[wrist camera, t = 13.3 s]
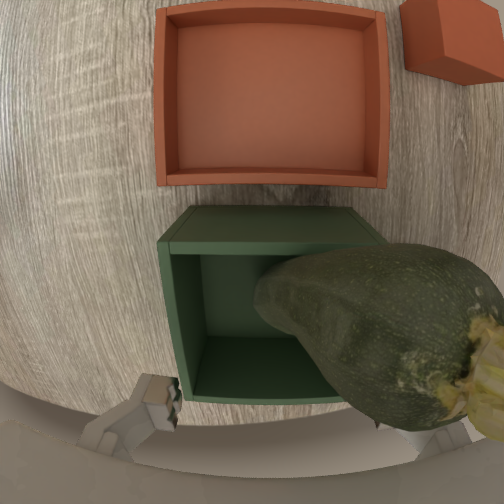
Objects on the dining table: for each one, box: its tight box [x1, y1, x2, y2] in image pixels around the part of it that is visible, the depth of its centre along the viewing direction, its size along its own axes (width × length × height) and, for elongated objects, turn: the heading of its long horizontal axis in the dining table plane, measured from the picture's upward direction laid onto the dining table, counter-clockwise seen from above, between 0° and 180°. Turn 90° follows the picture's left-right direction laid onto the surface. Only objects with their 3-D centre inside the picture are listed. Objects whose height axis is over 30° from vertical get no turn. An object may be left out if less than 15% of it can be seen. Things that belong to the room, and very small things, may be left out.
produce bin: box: [157, 205, 390, 405], centre depth 17 cm, size 10×10×6 cm
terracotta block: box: [399, 0, 504, 86], centre depth 11 cm, size 5×5×5 cm
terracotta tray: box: [154, 0, 390, 189], centre depth 15 cm, size 12×10×3 cm
